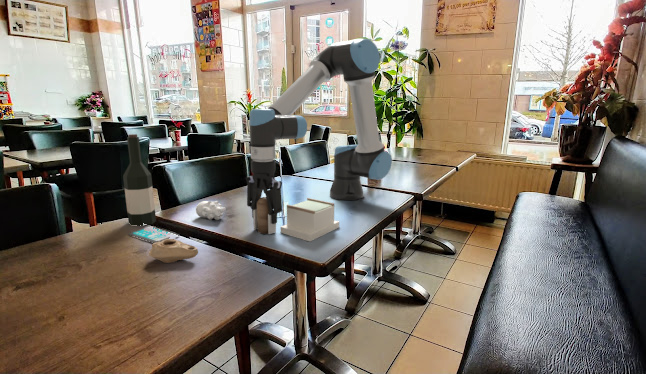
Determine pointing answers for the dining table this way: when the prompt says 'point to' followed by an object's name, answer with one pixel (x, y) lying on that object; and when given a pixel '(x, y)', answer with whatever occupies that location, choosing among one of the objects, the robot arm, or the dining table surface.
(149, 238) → the smartphone
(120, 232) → the dining table surface
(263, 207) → the brown domed cylinder
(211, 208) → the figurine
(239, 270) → the dining table surface
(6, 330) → the dining table surface
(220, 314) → the dining table surface
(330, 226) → the display stand
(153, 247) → the pottery oil lamp
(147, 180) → the wine bottle
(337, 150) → the robot arm
